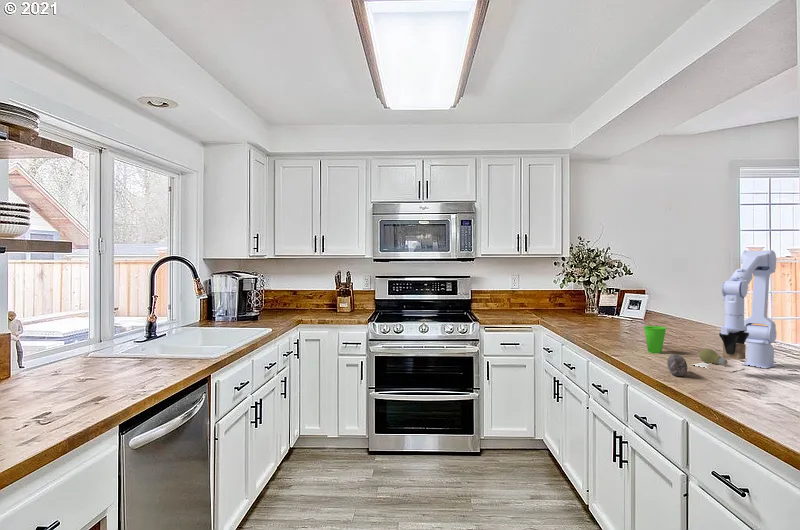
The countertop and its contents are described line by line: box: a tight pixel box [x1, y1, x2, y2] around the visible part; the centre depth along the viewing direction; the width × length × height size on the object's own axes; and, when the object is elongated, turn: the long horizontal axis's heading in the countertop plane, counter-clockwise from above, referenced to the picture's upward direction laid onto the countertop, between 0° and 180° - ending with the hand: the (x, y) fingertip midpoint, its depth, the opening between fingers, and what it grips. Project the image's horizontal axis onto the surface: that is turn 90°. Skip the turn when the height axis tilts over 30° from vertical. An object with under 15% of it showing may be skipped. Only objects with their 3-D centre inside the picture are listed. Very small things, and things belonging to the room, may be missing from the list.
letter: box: [692, 361, 709, 369], centre depth 183 cm, size 10×14×1 cm
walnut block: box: [722, 342, 747, 361], centre depth 171 cm, size 5×5×5 cm
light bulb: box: [698, 348, 729, 366], centre depth 187 cm, size 6×6×10 cm
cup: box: [643, 325, 667, 354], centre depth 211 cm, size 9×9×11 cm
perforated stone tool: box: [666, 353, 689, 377], centre depth 173 cm, size 15×5×7 cm, turn 159°
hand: (734, 353), depth 171 cm, fingers closed on walnut block, 5 cm apart
